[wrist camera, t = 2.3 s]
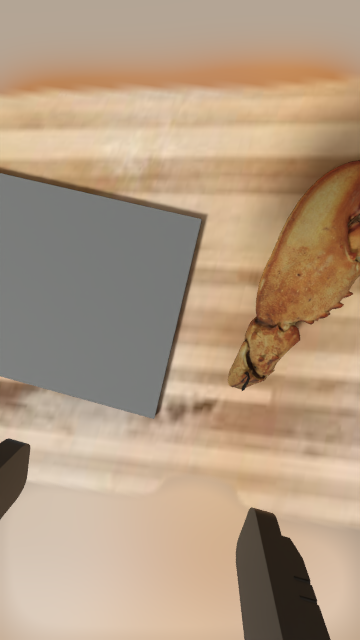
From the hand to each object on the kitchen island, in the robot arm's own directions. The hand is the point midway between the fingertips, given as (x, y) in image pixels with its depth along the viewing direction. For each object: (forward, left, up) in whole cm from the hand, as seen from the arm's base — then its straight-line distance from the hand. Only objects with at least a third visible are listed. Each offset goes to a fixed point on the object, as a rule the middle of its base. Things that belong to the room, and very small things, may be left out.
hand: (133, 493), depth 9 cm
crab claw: (-4, +1, -12) cm, 13 cm away
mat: (+14, -2, -15) cm, 21 cm away
